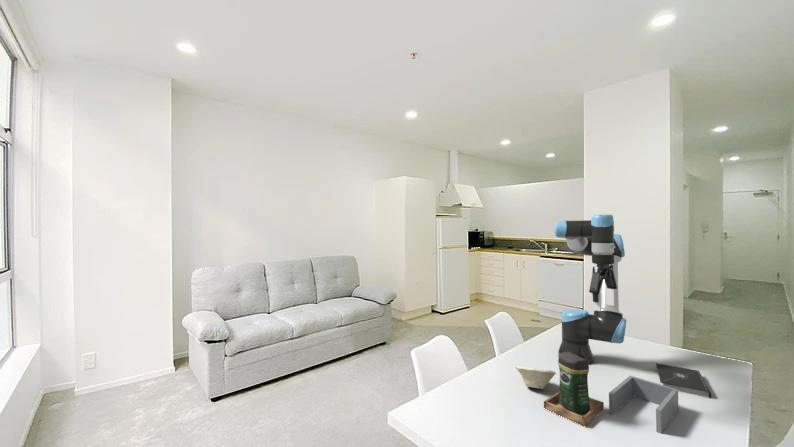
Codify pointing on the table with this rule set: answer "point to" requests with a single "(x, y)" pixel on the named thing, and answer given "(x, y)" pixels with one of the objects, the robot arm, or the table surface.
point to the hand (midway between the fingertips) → (603, 307)
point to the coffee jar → (573, 383)
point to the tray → (582, 419)
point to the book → (683, 379)
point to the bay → (646, 398)
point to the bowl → (535, 376)
